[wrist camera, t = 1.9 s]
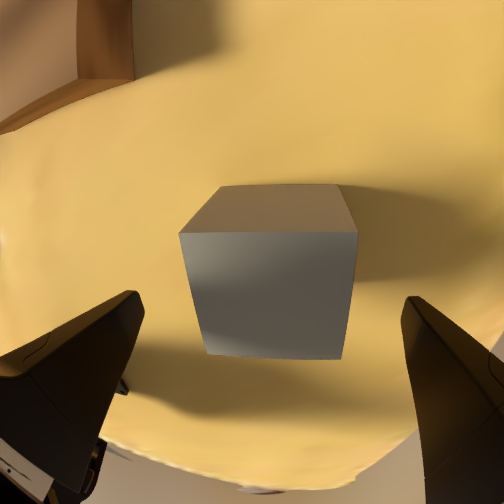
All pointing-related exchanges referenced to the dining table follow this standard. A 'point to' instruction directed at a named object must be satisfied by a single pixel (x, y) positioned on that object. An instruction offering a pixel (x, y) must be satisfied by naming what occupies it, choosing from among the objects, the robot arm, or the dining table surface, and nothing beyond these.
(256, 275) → the slate cube
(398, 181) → the dining table surface
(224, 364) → the dining table surface
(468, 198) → the dining table surface
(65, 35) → the walnut block
